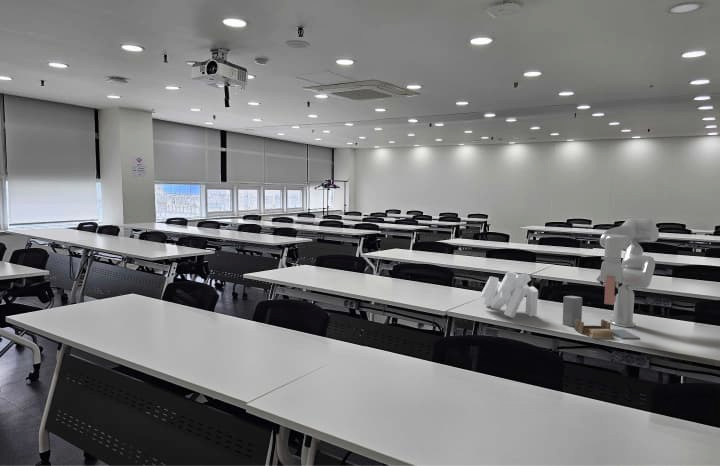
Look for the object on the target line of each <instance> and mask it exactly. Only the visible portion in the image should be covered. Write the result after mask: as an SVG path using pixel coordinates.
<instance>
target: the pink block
mask: <svg viewBox="0 0 720 466" xmlns="http://www.w3.org/2000/svg"><path fill="white" fill-rule="evenodd" d="M615 287H616V284H615V277H608V276H606V281H605V294H604V299H603V300H604V302H603V304H604V305H611V306H614V303H615V301H616V296H615V295H614V294H615Z"/></svg>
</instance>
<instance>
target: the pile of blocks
mask: <svg viewBox="0 0 720 466" xmlns="http://www.w3.org/2000/svg"><path fill="white" fill-rule="evenodd" d="M531 280H532V278H531V276H530V274H528V273H524V272H522V273H520V274H518V273H516V271H507V272H506V273H505V275H504V277H503V279H502V281H499V277H496V276H492V275H491V276H489V278H488V280H487V281H486V283H485V285H484V287H483V289H482V291H481V298H483V299H484V302H483V304H484V305H485V306H487V307H489V306H491V307H490V308H492V309H496V310H501V308H503V307H504V306H506V308H505V310H504V313H503V315H505V316H507V317H509V318H512V319H514V318H515V316H516V313H517V312H518V309H519V308H520V304H521V303H522V302H523V300H524V298H525V297H526V298H525V313H526V314H527V315H528V316H529V317H530V318H532V317H536V316H537V313H538V301H539V300H538V298H539V290H538V289H537V288H536V287H535V286H529V285H528V283H530V282H531Z"/></svg>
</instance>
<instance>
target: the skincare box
mask: <svg viewBox="0 0 720 466" xmlns="http://www.w3.org/2000/svg"><path fill="white" fill-rule="evenodd" d="M562 301H563V302H562V304H563V305H562V306H563V307H562V324H563V325H566V326H570V327H575V319H578V320H580V321H582V318H583V317H582V315H583V297H581V296H575V295H566V296H564V295H563V299H562Z"/></svg>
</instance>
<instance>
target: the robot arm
mask: <svg viewBox="0 0 720 466" xmlns="http://www.w3.org/2000/svg"><path fill="white" fill-rule="evenodd" d="M659 236H660V232H659V229H658V226H656V224H655V222H654V221H653V220H652V219H649V218H635V217H634V218H633V217H632V218H631V217H630V218H628V219H626V220H625V221H624V222H623V223H622V224H621V225H619V226H616V227H613V228H609V229H607V230H605V231H604V232H603V233H602V235H601V236H600V238H599V244H600V246H601V247H602V248H604V256H601V258H600V259H601V260H603V261H602V262H601V267H600V273H599V275H598V277H597V278H596V279H595V280H596V282H598V283H599V284H600V285H601V286H602V288H603V289H602V290H603V291H602V292H603V293H604V295H605V281H606V276H608V277H615V284H616V287H615V294H614V295H615V296H616V301H615V303H614V304H613V313H612V314H611V318H612V319H609V323H611V324H610V325H614V326H617V327H623V328H635V327H636V325H637V323H635V322H633V321H634V319H633V318H634V305H635V292H634V291H633V289H632V288H639V289H647V288H649V286H650V285H651V282H652V280H653V275H654V271H655V267H656V260H655V259H654V257H653V256H651V255H644V254H643V253H644V249H643V247H642V246H641V245H640V243H638V242H647V243H653V242H656V241H657V240H658V239H659ZM622 250H625V252H624V254H623V258H622Z"/></svg>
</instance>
